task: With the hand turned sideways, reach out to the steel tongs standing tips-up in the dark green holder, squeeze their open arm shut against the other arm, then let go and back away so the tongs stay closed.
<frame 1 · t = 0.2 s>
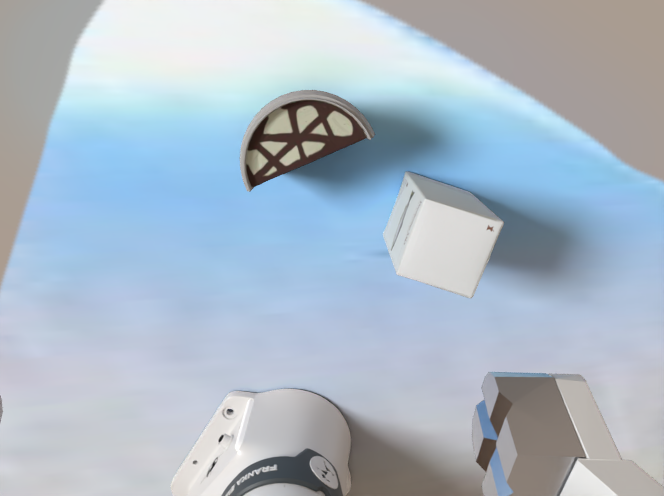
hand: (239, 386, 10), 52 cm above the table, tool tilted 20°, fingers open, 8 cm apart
food container: (298, 120, 60), on the table
supplement box: (424, 213, 63), on the table
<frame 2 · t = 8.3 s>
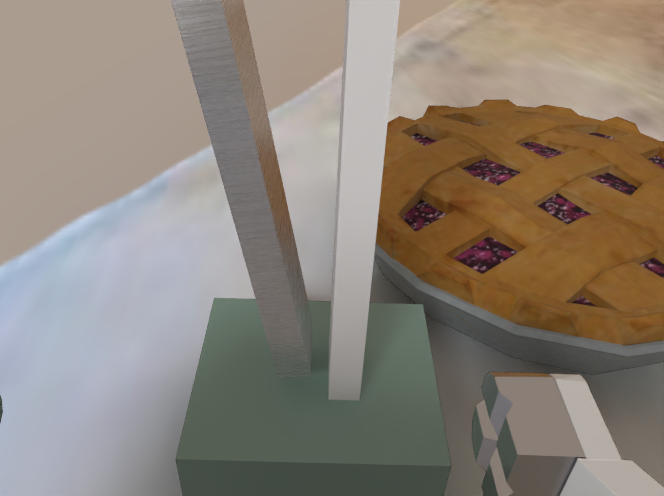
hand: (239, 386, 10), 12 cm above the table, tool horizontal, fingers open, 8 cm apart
pie: (533, 248, 34), on the table
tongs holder: (314, 442, 23), on the table
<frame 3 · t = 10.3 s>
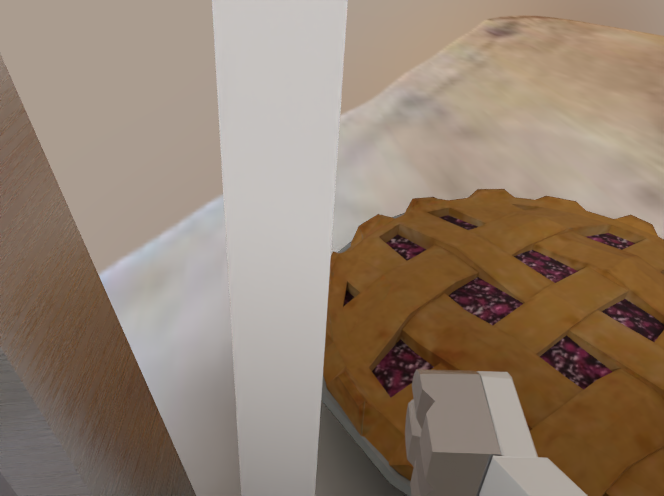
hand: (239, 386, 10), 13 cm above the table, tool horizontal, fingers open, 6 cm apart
tongs arm: (13, 280, 8), point 16 cm above the table, hinge at 10.0°, touching gripper
pie: (535, 382, 28), on the table
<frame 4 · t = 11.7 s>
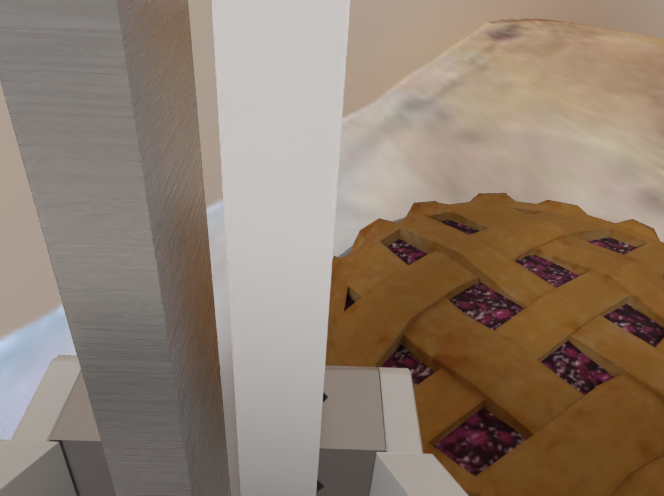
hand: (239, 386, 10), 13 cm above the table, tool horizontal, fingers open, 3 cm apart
tongs arm: (161, 288, 7), point 16 cm above the table, hinge at 0.4°, touching gripper
pie: (536, 387, 28), on the table
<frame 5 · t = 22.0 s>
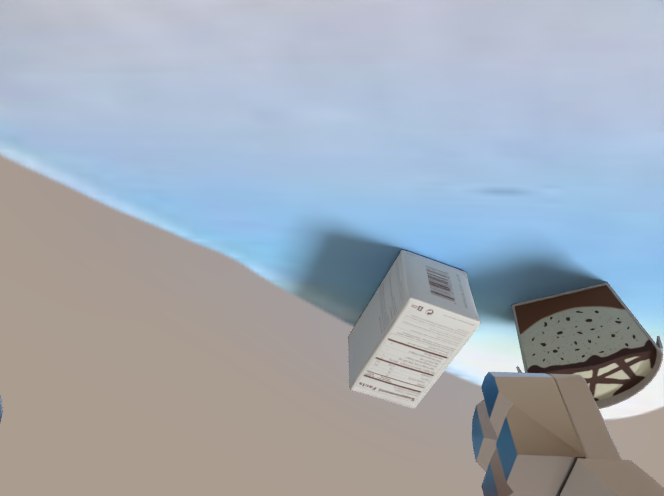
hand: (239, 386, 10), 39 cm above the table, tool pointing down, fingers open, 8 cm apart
food container: (561, 314, 62), on the table
supplement box: (442, 282, 54), point 4 cm above the table
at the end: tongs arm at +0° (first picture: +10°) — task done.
